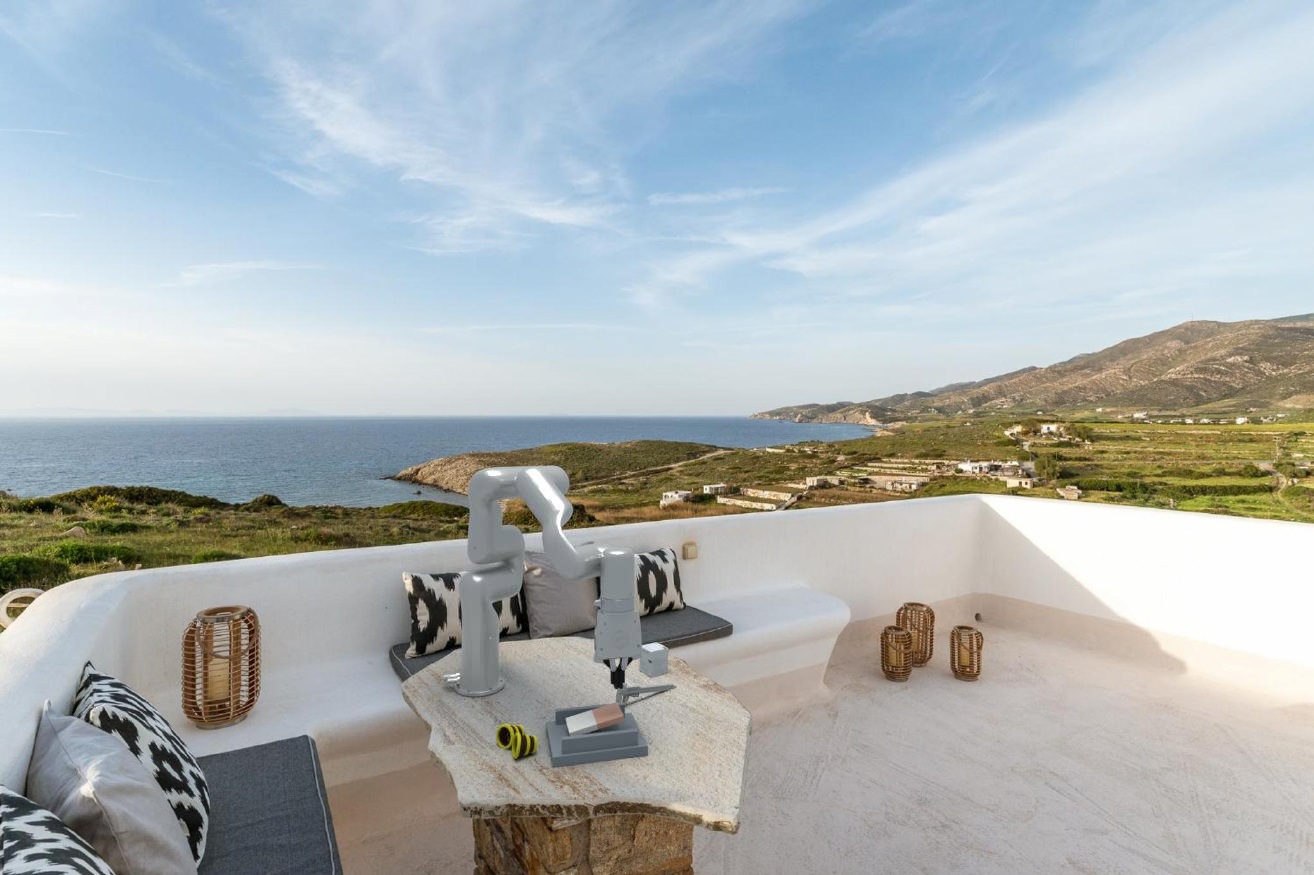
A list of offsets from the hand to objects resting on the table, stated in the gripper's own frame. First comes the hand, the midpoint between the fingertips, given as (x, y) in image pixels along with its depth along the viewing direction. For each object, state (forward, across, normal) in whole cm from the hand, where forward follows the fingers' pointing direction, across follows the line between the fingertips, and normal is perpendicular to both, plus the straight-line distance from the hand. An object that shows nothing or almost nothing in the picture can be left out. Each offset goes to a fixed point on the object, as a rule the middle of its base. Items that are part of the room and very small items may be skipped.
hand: (617, 686), depth 136 cm
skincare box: (+12, +18, +37) cm, 43 cm away
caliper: (+12, +12, +21) cm, 27 cm away
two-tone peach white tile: (+8, -5, 0) cm, 9 cm away
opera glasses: (+12, -22, +2) cm, 25 cm away
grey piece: (+12, -5, +1) cm, 13 cm away
